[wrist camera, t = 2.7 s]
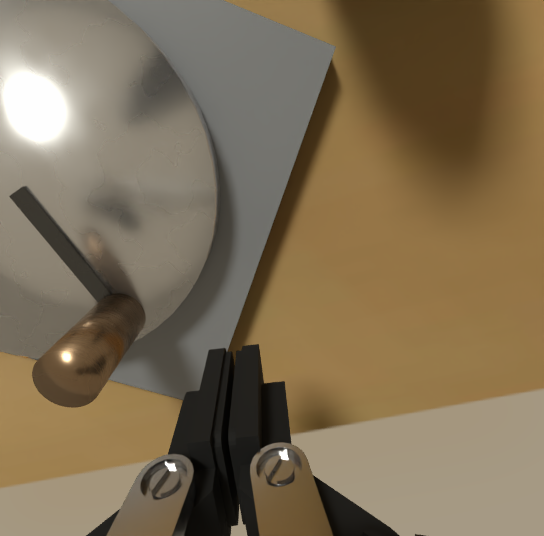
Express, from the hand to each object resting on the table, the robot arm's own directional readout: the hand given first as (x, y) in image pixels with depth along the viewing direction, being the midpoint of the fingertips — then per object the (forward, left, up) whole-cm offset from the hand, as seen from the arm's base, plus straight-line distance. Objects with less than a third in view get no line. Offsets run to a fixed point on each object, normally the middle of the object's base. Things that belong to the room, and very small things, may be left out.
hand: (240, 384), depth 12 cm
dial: (+11, -2, -7) cm, 13 cm away
